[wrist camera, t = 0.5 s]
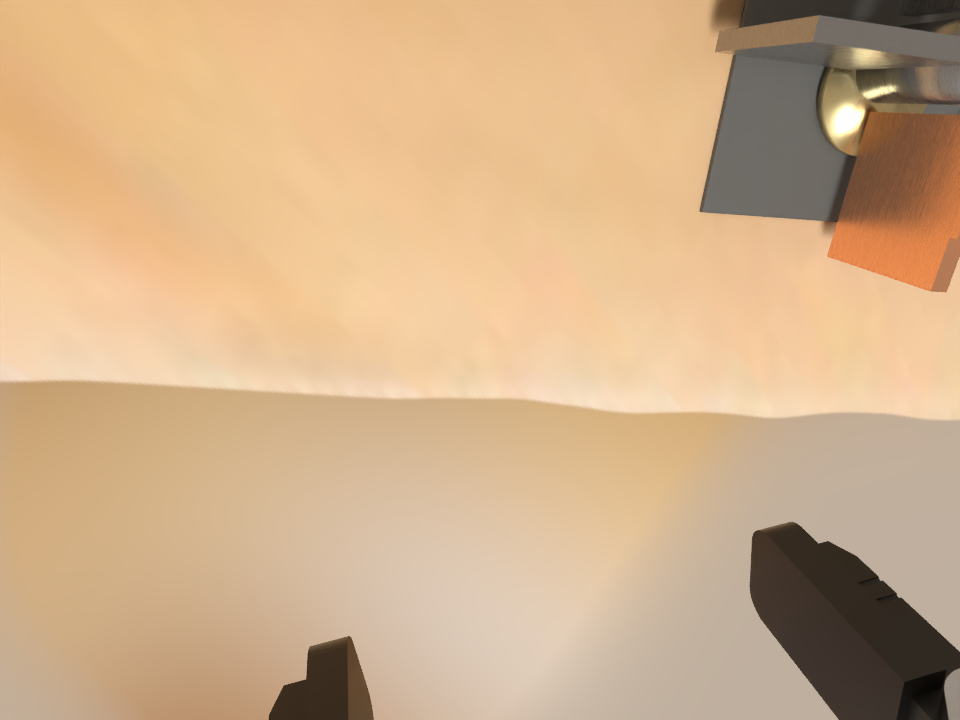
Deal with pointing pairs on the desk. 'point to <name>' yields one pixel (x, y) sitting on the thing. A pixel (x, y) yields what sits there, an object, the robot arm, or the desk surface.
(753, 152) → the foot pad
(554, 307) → the desk surface
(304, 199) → the desk surface
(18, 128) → the desk surface
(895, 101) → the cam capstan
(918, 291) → the desk surface
